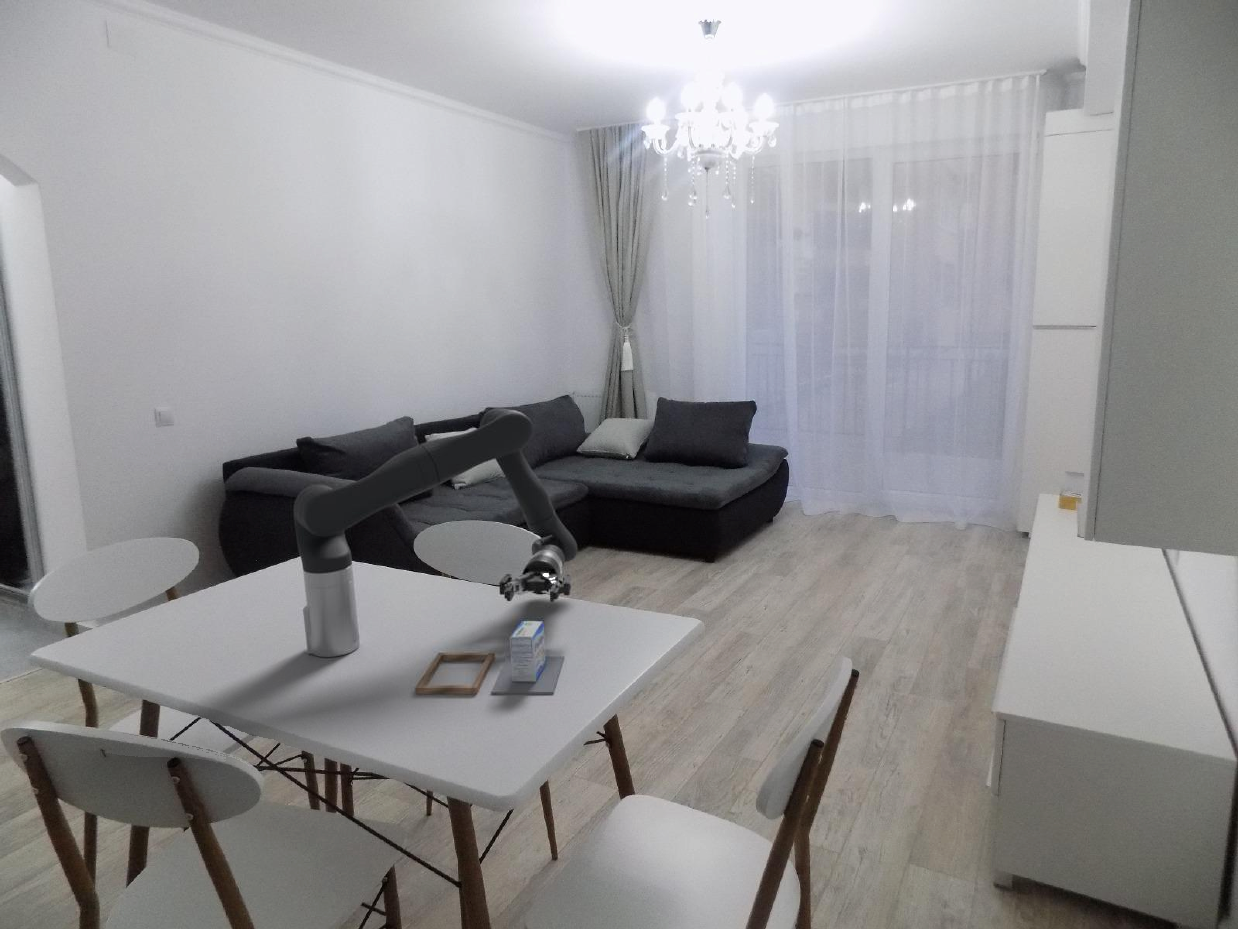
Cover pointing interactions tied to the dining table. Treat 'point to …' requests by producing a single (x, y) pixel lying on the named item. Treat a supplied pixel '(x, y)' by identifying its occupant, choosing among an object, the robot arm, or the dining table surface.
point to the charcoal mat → (541, 686)
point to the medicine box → (528, 651)
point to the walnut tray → (455, 689)
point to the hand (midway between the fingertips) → (530, 596)
